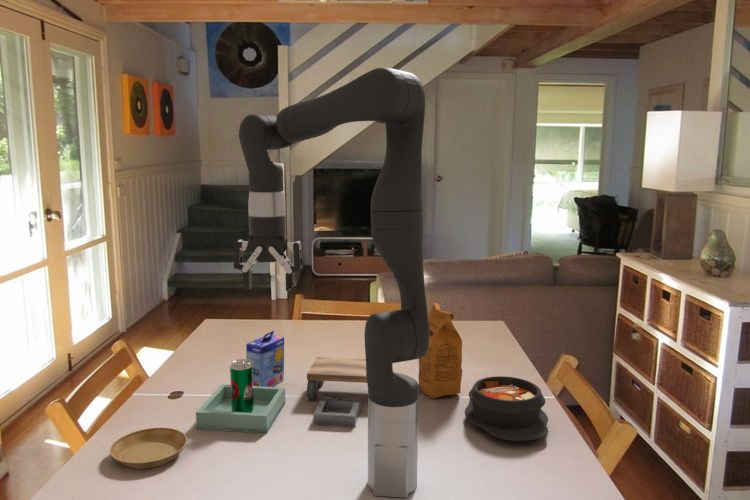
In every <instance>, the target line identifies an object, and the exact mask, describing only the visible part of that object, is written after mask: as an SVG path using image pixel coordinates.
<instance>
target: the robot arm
mask: <svg viewBox="0 0 750 500" xmlns="http://www.w3.org/2000/svg"><path fill="white" fill-rule="evenodd" d="M424 89H425V88H424V86H423V84H422V82H421V80H420V78H419V77H418V76H416V75H415V74H414V73H412V72H410V71H409V72H408V71H405V70H400V69H395V68H392V67H386V66H385V67H382V66H381V67H376V68H373V69H372V70H368V71H366V72H364V73H363V74H361V75H360V76H358V77H356V78H355V79H353V80H351V81H349V82H348V83H346V84H344V85H342V86H340V87H338V88H336V89H333V90H331V91H330V92H327V93H325V94H322V95H320V96H316V97H314V98H311V99H307V100H305V101H301V102H297V103H294V104H292V105H291V104H290V105H288V106H286V107H284V108H282V109H281V110H280V111H279V112H278V113H277V114H259V113H252V114H251V113H250V114H248V115H246V116H245V117H244V118H243V119H242V120H241V123H240V124H239V127H238V140H239V144H240V148H241V150H242V154H243V156H244V157H243V158H244V160H245V164H246V167H247V171H248V231H249V232H248V235H249V236H248V237H249V239H248V241H247V240H243V239H240V238H239V239H238V240H235V241H234V243H233V244H234V245H233V268H234V270H239V271H241V272H242V284H243V287H244V288H246V290H252V289H253V271H252V268H253V267H254V265H255V264H256V263H257V262H259V263H264V262H269V263H275V262H277V263H278V264H279V265H280V266H281V267H282V268H283V270H284V271H285V272H286V273H285V291H286V292H290V291H291V290H292V289H294V286H295V272H299V271H301V270H302V269H303V268H304V262H303V248H302V241H300V240H296V241H288V240H287V228H286V227H287V225H286V222H287V221H286V212H287V208H286V199H285V191H284V187H285V186H284V184H285V183H284V169H283V166H282V165H281V163H280V162H279V163H278V162H276V161H272V160H271V158H270V155H269V152H268V150H269V151H271V150H273V151H274V150H275V151H276V150H281V149H282V150H283V149H285V148H288V147H291V146H292V145H295V144H296V143H298V142H303V141H307V140H310V139H311V140H312V139H315V138H318V137H321V136H323V135H326V134H327V133H330V132H331V131H332V130H334V129H335V128H337V127H338V126H341V125H344V124H349V123H355V122H356V123H357V122H375V123H379V124H385V133H386V134H385V135H386V138H385V141H386V144H385V145H386V147H385V148H386V149H385V157H384V162H383V164H382V167H381V170H380V172H379V175H378V177H377V180H376V182H375V185H374V187H373V191H372V195H371V199H370V229H371V230H370V233H371V235H370V236H371V239H372V242H373V245H374V246H375V248H376V250H377V251H378V253H379V255H380V257H381V258H382V259H383V261H384V263H385V264H386V265H387V267H388V269H389V270H390V272H391V273H392V275H393V277H394V279H395V281H396V283H397V284H396V285H397V287H398V291H399V295H400V298H399V299H400V309H395V310H389V311H381V312H374V313H371V314H370V315H369V316H368V317H367V319H366V322H365V325H364V349H365V359H366V378H367V383H366V384H367V391H368V393H367V395H368V396H367V399H368V400H367V401H368V402H367V408H368V409H367V486H368V487H369V489H371V491H372V492H373V496H376V497H377V496H378V497H389V498H390V497H391V498H403V499H404V498H405V499H406V498H408V497H409V495H410V494H411V493H413V492H414V491H415V490H416V488H417V486H418V459H419V457H418V455H419V451H418V447H419V402H420V399H419V397H420V396H419V395H420V387H419V386H420V385H419V382H418V381H417V380H416V379H415V378H414V377H411V376H409V375H407V374H405V373H404V374H403V373H400V372H396V371H395V372H394V370H393V369H394V368H393V364H396V363H402V362H408V361H414V360H419V358H422V357H423V356H424V355H425V354H426V352H427V350H428V346H429V321H428V316H429V312H428V304H427V296H426V295H427V294H426V284H425V273H424V271H425V270H424V269H425V268H424V267H425V266H424V204H423V167H422V166H423V162H422V160H423V158H422V157H423V155H422V153H423V140H424V139H423V137H424V128H425V127H424V126H425V124H424V123H425V112H426V111H425V110H426V96H425V95H426V94H425V90H424ZM247 248H248V250H249V251H250V252H251V255H250V257H249V258H248V259H247V261H246V262H245V263H244V251H246V250H247ZM288 248H289V250H290V252H291V253H293V263H294V265H293V263H292V262H291V261H290V259H289V257H288V256H287V254H286V253H285V252H286V251H287V250H288Z"/></svg>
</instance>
